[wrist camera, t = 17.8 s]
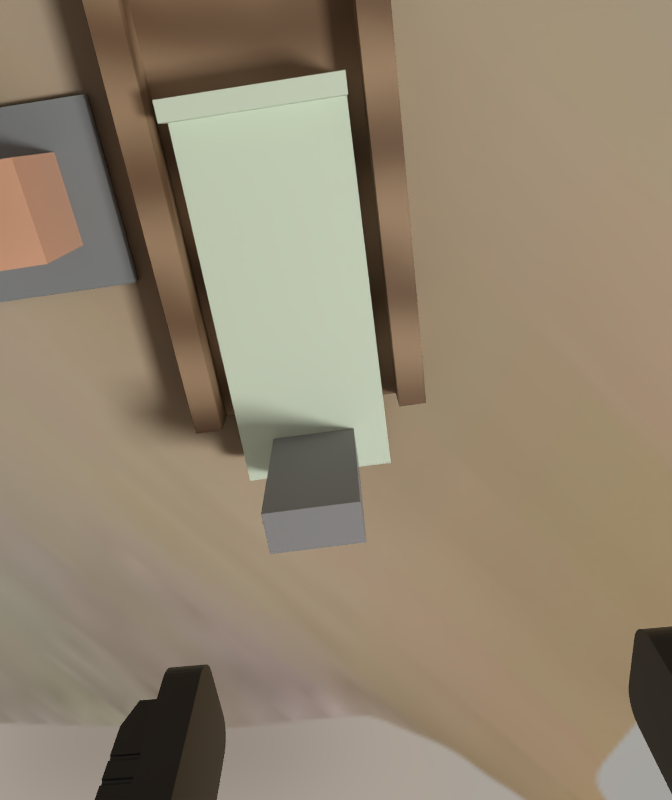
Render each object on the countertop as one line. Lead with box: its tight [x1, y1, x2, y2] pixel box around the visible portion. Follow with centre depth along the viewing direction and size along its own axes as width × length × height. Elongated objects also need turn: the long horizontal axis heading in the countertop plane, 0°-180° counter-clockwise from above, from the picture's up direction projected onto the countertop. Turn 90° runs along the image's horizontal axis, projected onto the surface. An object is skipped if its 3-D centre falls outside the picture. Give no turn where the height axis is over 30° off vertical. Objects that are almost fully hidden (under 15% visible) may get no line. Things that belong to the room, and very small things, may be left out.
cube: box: [0, 152, 83, 271], centre depth 32 cm, size 5×5×5 cm
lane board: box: [82, 0, 426, 433], centre depth 33 cm, size 30×14×3 cm, turn 8°
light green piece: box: [152, 70, 391, 554], centre depth 32 cm, size 22×9×9 cm, turn 8°
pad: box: [0, 94, 138, 302], centre depth 35 cm, size 10×10×1 cm
